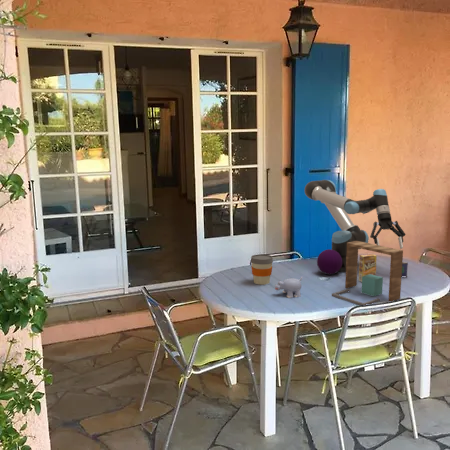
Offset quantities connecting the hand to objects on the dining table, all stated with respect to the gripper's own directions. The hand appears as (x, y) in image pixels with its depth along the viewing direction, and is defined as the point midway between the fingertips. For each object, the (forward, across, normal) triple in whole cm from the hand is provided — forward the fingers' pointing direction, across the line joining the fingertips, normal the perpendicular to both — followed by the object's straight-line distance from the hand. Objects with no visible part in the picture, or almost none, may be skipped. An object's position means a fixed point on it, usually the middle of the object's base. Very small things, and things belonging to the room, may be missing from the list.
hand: (390, 248), depth 282 cm
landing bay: (+31, -30, -16) cm, 46 cm away
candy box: (+16, -14, +8) cm, 23 cm away
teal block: (+28, -19, -10) cm, 35 cm away
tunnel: (+28, -19, -10) cm, 35 cm away
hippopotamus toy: (+26, -63, -8) cm, 69 cm away
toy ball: (+8, -31, +22) cm, 39 cm away
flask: (+14, +8, +13) cm, 21 cm away
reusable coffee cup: (+14, -74, +11) cm, 76 cm away
